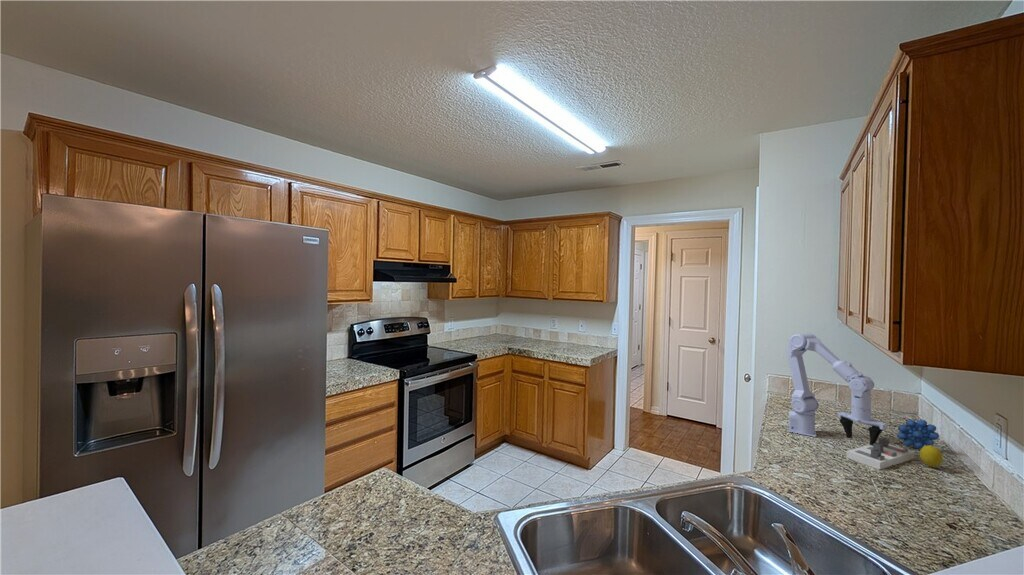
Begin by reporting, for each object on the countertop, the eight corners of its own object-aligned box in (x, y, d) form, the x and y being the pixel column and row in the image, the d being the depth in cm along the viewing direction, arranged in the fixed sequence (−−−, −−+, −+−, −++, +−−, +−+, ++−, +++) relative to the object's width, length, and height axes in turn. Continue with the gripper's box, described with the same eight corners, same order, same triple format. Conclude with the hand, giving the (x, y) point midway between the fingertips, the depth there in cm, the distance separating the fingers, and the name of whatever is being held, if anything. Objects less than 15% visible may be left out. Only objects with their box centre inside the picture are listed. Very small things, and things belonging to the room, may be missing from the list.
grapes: (936, 449, 150) (936, 419, 150) (940, 455, 145) (940, 424, 145) (895, 441, 158) (895, 412, 158) (897, 446, 153) (898, 417, 152)
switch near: (877, 458, 136) (877, 451, 136) (870, 456, 138) (870, 449, 138) (881, 457, 137) (881, 450, 137) (874, 455, 139) (874, 447, 139)
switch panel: (879, 469, 134) (880, 459, 134) (846, 457, 143) (846, 448, 143) (914, 458, 142) (914, 449, 142) (880, 447, 151) (880, 438, 151)
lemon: (947, 471, 133) (947, 448, 133) (931, 470, 133) (931, 448, 133) (930, 463, 138) (930, 442, 138) (915, 463, 138) (915, 441, 138)
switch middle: (879, 451, 142) (879, 444, 142) (873, 449, 144) (873, 442, 144) (883, 450, 143) (883, 443, 143) (876, 448, 144) (876, 441, 144)
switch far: (885, 446, 146) (885, 439, 146) (878, 444, 148) (878, 437, 148) (888, 445, 147) (888, 438, 147) (882, 443, 149) (882, 436, 149)
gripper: (833, 402, 153) (833, 435, 153) (878, 414, 140) (878, 450, 140) (843, 400, 156) (843, 433, 156) (889, 411, 142) (888, 447, 143)
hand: (860, 441), depth 148 cm, fingers open, 7 cm apart
